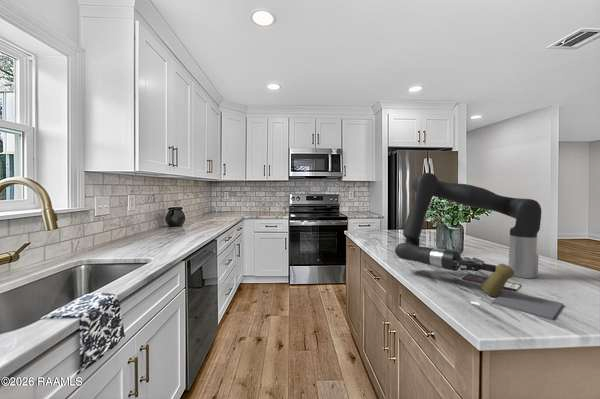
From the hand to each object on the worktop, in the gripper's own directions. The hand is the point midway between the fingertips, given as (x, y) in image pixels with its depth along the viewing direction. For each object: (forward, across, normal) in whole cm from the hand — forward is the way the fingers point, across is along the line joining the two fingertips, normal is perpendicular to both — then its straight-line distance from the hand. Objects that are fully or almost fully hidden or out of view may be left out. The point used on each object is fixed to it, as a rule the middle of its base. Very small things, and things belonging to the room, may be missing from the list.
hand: (495, 269), depth 98 cm
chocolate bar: (-6, +15, +10) cm, 19 cm away
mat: (+9, 0, +10) cm, 13 cm away
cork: (-2, 0, +8) cm, 8 cm away
